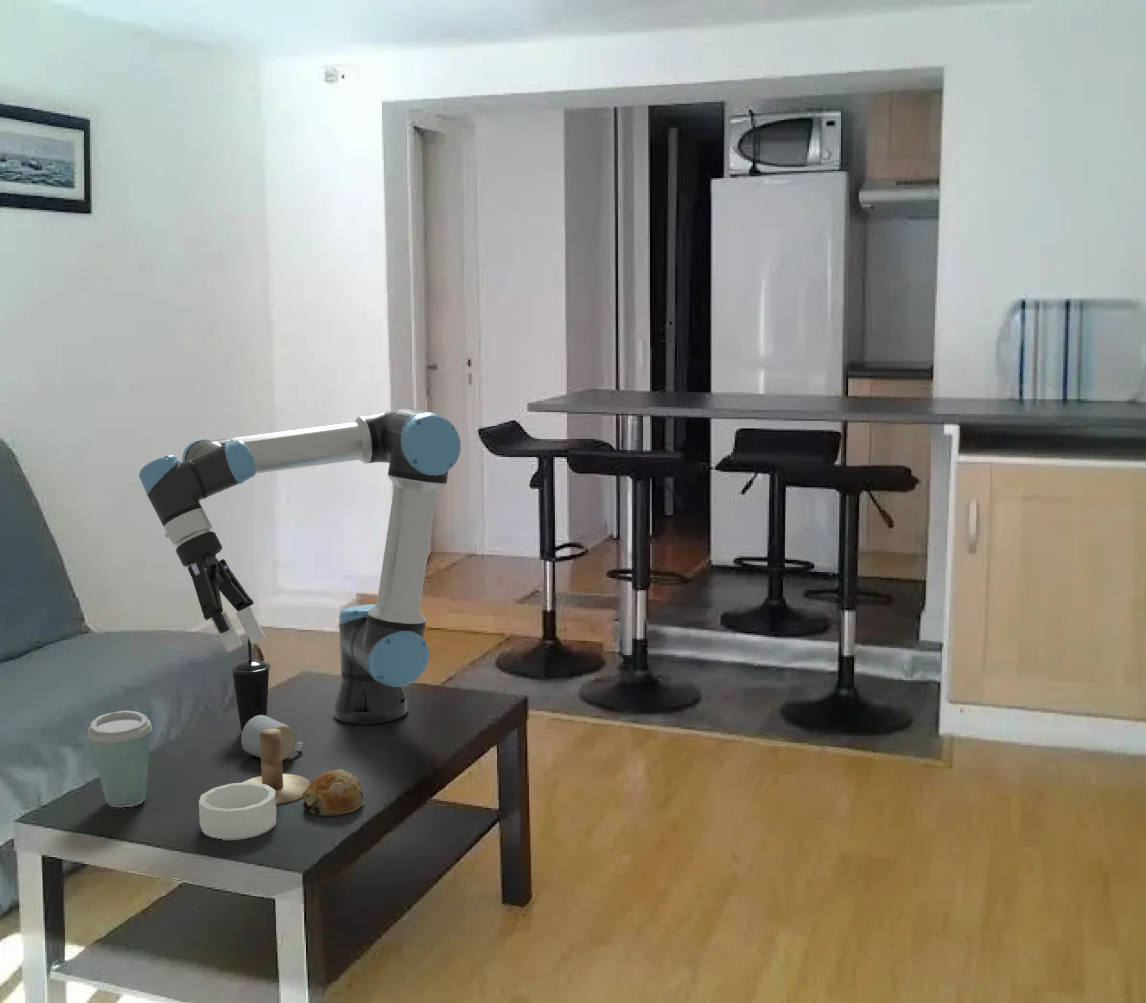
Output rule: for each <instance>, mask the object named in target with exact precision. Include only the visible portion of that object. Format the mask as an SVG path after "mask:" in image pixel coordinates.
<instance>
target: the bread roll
mask: <svg viewBox="0 0 1146 1003" xmlns="http://www.w3.org/2000/svg"><path fill="white" fill-rule="evenodd" d="M303 796H304V797H303V805H302V806H303V808H304V810H307V811H308V812H309V813H310V814H312V815H315V816H323V817H327V816H328V817H331V816H332V817H337V816H341V815H346V814H350V813H351V814H352V813H353V812H356V811H357V810H359V809H360V808H363V807H364V806H365V801H364V800H363V799H364V798H363V796H364V795H363V788H362V784H361V782H360V780H359V778H358V777H357V776H355V775H354V774H353V773H351V772H349V771H345V770H343V769H341V768H340V769H336V770H335V769H332V770H328V771H325V772H324V773H323V772H322V773H321V774H320V775H318V776H316V777H315V778H313V779H312V781H311V782H310V785H309V786H308V788H307V789H306V791H304V792H303Z"/></svg>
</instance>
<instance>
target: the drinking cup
mask: <svg viewBox="0 0 1146 1003" xmlns="http://www.w3.org/2000/svg"><path fill="white" fill-rule="evenodd" d="M246 636H247V635H246ZM247 652H248V653H247V654H248V657H247V658H248V659H247V660H242V661H240V662H238V663H237V664H234V665H233V666H231V668H230V672H231V673H232V678H233V684H234V690H235V691H234V692H235V698H236V704H237V712H238V720H239V726H240V733H241V735H242V731H243V729H244V727H245V725H246V723H247V722H248V721H249V720H250V719H252V718H253V717H255V716H258V715H265V716H267V717H268V698H269V678H270V677H269V675H270V670H271V664H270V663H269V662H266V661H262V660H259V659H253V653H252V652H253V650H252V644H251V642H250V640H249V638H248V636H247Z"/></svg>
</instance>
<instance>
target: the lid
mask: <svg viewBox="0 0 1146 1003" xmlns="http://www.w3.org/2000/svg"><path fill="white" fill-rule="evenodd" d="M260 750H261V758H260V764H261V765H260V766H261V768H260V769H261V775H259V776H256V777H251V778H249V779H247V780H245V781H243V782H241V783H246V782H253V783H259V784H266V785H268V786H270V787H271V788H273V789H274V790H275V792H276V806H277V805H284V804H289V803H292V802H294V801H297V800H300V799H302V798H304V796H303V792H304V791H306V789H307V788H308V786H309V785H310V783H311V782H310V780H309V779H308V778H305V777H303V776H302V775H297V774H292V773H283V771H284V770H283V761H282V749H281V731H280V730H278V729H266V730H263V731H261V732H260Z"/></svg>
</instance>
